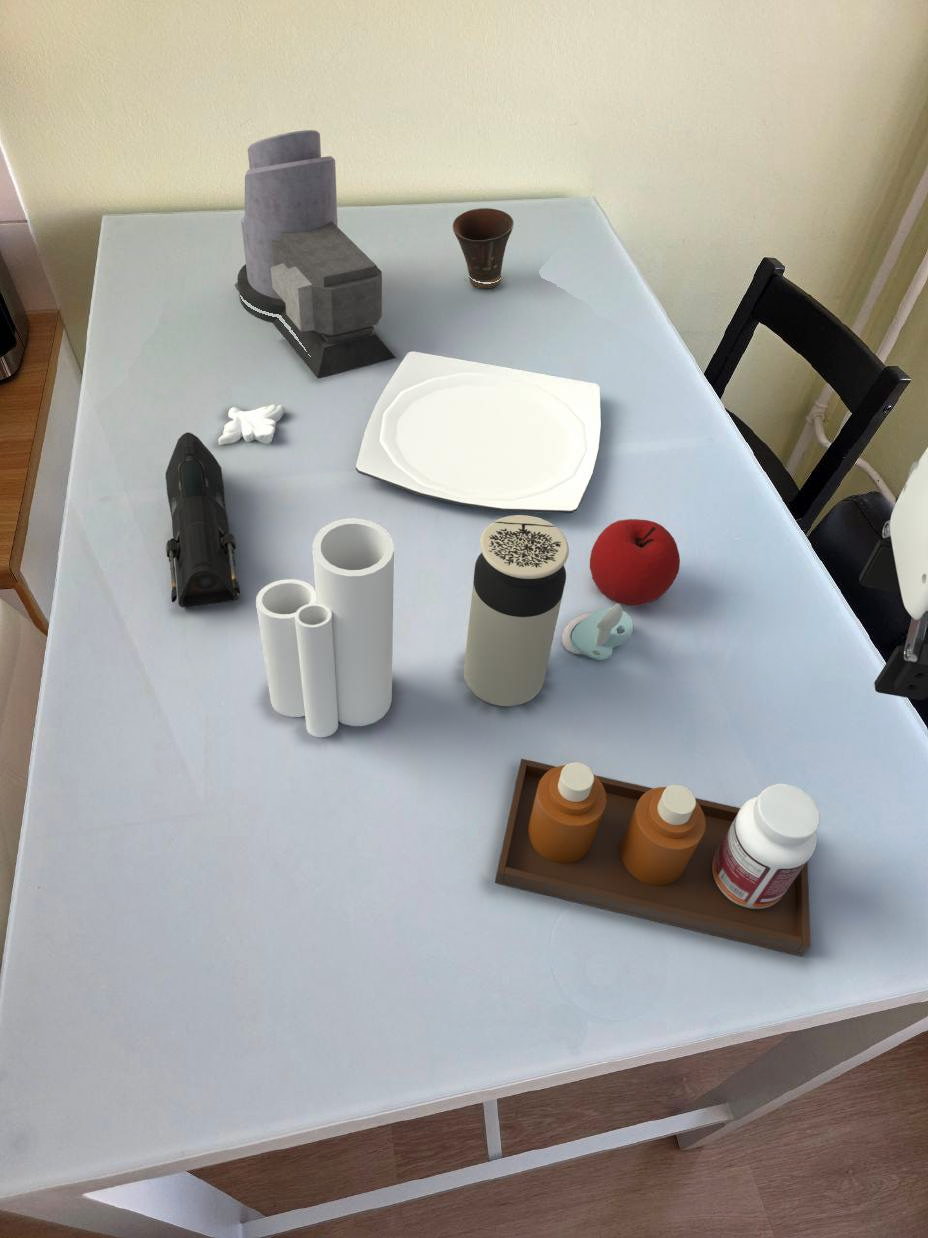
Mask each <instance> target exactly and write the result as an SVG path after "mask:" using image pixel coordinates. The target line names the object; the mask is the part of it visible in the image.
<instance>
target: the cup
mask: <svg viewBox="0 0 928 1238" xmlns="http://www.w3.org/2000/svg"><path fill="white" fill-rule="evenodd" d="M514 223H515V222H514V219H513V217H512V216H511V215H510V214H508V213H507V212H506V211H504V210H500V209H496V208H491V207H490V208H489V207H481V208H473V209H469V210H466V211H465V212H462V213H461V214H459V215H458V216H457V217H456V218H455V219H454V220H453V222H452V232H453V233H454V235H455V237H456V239H457V241H458V244H459V246H460V248H461V251H462V253H463V257H464V259H465V260H464V261H465V263H466V267H467V272H468V277H469V275H470V277H471V278H472V279H475V280H476V281H480V282H495V281H497V280H499V279H500V278H501V279H500V280H499V281H498V282H495V283H491V284H483V283H478V282H475V281H473V280H472V279H471V278H470V277H469V282H470V284H471V285H472V286H473V287H475V288H478V289H481V290H487V289H491V288H495V287H496V286H498V285H499V284H500V283H501V280H502V267H503V262H504V256H505V253H506V247H507V243H508V241H509V239H510V236H511V234H512V232H513V228H514Z"/></svg>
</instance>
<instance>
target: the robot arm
mask: <svg viewBox="0 0 928 1238" xmlns="http://www.w3.org/2000/svg"><path fill="white" fill-rule="evenodd" d="M894 503H895V505H894V507H893V509H892V512H891V515H890V519H888V520H887V521H885V523H884V525H883V528H882V533H881V536H882V538H883V539H881V538H880V539H878V541H877V543H876V545H875V546H874V548H873V551H872V552H871V554H870V556H869V557H868V559H867V562H866V563H865V565H864V567H863V570H862V571H861V573H860V574H859V576H858V580H859V585H861V586H862V587H864V588H869V589H877V590H882V591H887V592H893V593H899V594H901V595H900V596H901V599H902V603H903V606H904V608H905V610H906V612H907V613H908V614H909V615H910V616H911V619H910V623H909V627H908V630H907V636H906V640H905V643H904V645H897V646H896V647H895V649H894V650H893V652H892V654H891V655H890V657H889V658H888V660H887V661H886V663H885V665H884V666H883V668H882V669H881V671H880V672H879V674H878V676H876V678H875V680H874V682H873V685H874V690H875V692H876V693H879V694H884V695H890V696H894V697H901V698H906V699H912V700H918V701H922V700H925V699H926V698H928V644H927V643H924V640H925V635H926V631H927V628H928V446H927V448H926V449H925V450H924V452H923V454H921V456H920V458H919V460H918V461H916V460H914V461H913V462H912V463H911V466H910V468H909V472H908V474H907V478H906V481H905V484H904V486H903V488H902V490H901V491H900V493H899V494H898V495H897V496H896V497H895V501H894Z"/></svg>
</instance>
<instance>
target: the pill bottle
mask: <svg viewBox="0 0 928 1238" xmlns="http://www.w3.org/2000/svg"><path fill="white" fill-rule="evenodd" d="M740 808H741V809H740V811H739V812H738V814H737V816H736V818H735V819H734V821H733V823H732V825H731V826H730V828H729V830H728V832H727V834H726V835H725V837H724V839H723V841H722V843H721V844H720V846H719V848H718V850H717V851H716V854H715V856H714V859H713V864H712V870H713V876H714V879H715V882H716V884H717V886H718V887H719V889H720V890H721V891H722V893H723V894H724V895H725V896H726V897H727V898H728V899H730V900H731V901H732V902H734V903H736V904H738V905H740V906H743V907H746V908H751V909H762V908H767V907H770V906H772V905H774V904H775V903H777V902H778V901H779V900H780V899H781V897H782V896H783V895H784V894H785V892H786V891H787V889H788V888H789V887H790V885H791V884H792V882H793V881H794V879H795V878H796V877H797V875H798V874H799V872H800V871H801V870H802V868H803V867H804V865H805V864H806V863H807V861H808V862H809V860H810V858H811V857H812V856H813V854H814V852H815V850H816V848H817V847H816V846H817V841H818V835H817V830H818V828H819V827H820V824H821V823H820V822H821V814H820V810H819V808H818V805H817V803H816V802H815V801H814V799H813V798H812V797H811V796H810V795H809V794H808V793H807V792H805V791H804V790H803V789H800V788H799V787H797V786H795V785H791V784H787V783H776V784H771V785H769V786H767V787H766V788H764V789H763V790H762V791H761V793H760V794H759V795H757V796H754V797H751V798H750V799H748V800H747V801H746V802H744V803H743V804H742V806H741V807H740Z"/></svg>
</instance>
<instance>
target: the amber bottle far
mask: <svg viewBox="0 0 928 1238" xmlns="http://www.w3.org/2000/svg"><path fill="white" fill-rule="evenodd" d="M595 775H596V774H594V773H593V771H592V769H591V768H590V767H589V766H588V765H586V764H585V763H582V762H579V761H573V762H570V763H567V764H566V765H565V764H563V765H558V766H556V767H555V768H553V769H551V770H549V771H548V772H547V773H545V774H544V776H543V777H542V778H541V780H540V782H539V785H538V789H537V793H536V797H535V801H534V805H533V809H532V813H531V817H530V821H529V825H528V835H529V839H530V842H531V844H532V846H533V847H534V849H535V850H536V851H537V852H538V853H539V854H540V855H541V856H543V857H544V858H546V859H548V860H550V861H553V862H558V863H570V862H574V861H577V860H579V859H581V858H582V857H583V856H585V855H586V854H587V852H588V851H589V849H590V848H591V845H592V842H593V839H594V837H595V834H596V831H597V828H598V826H599V823H600V820H601V817H602V815H603V812H604V809H605V806H606V792H605V789H604V787H603V785H602V783H601V782H600V780H599V779H598V778H597V777H596V776H597V775H596V776H595Z"/></svg>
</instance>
